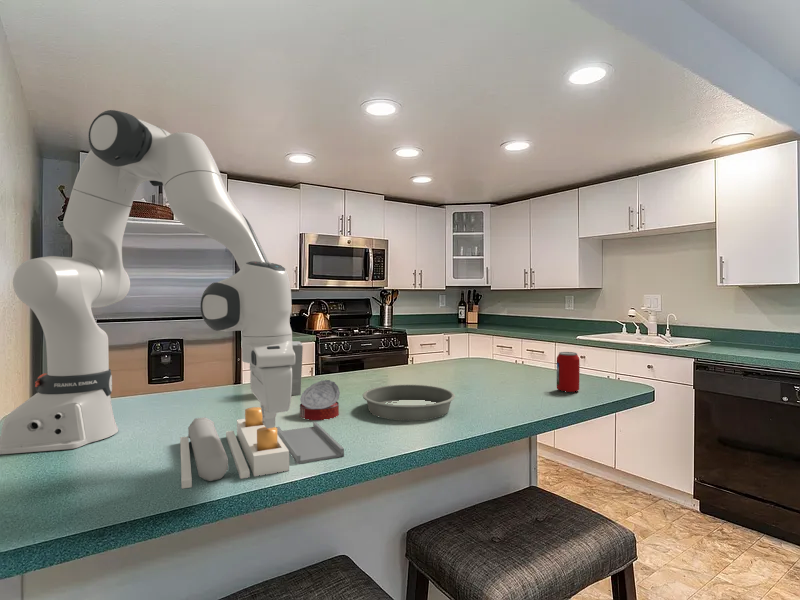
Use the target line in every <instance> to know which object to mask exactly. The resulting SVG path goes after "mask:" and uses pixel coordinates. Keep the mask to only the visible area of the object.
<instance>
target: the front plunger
mask: <svg viewBox="0 0 800 600" xmlns="http://www.w3.org/2000/svg"><path fill="white" fill-rule="evenodd" d="M276 427H277V426H275V427H274V428H266V427H262V428H259V429H257V450H258V451H263V450H270V449H276V448H277V428H276Z"/></svg>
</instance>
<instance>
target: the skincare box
mask: <svg viewBox="0 0 800 600" xmlns="http://www.w3.org/2000/svg"><path fill="white" fill-rule="evenodd" d="M292 344H293V351H294V353H295V365H291V367H292V393H291V396H302V373H303V372H302V371H303V349H304V345H303V342H302V341H300V340H298V341H297V340H296V341H294V340H292Z"/></svg>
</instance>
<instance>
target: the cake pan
mask: <svg viewBox="0 0 800 600" xmlns="http://www.w3.org/2000/svg"><path fill="white" fill-rule="evenodd" d="M362 397H363V399H364V401H366V404H367V409H368V412H369V411H370V412H369V413H370V414H371V413H372V414H371V415H373V416H375V415H376V417H378V416H379V417H378V418H381V417H382V419H386V418H387V419H388V420H392V419H394V420H393V421H424V420H423V419H426V420H431V419H430V418H433V419H436V418H435V417H437V418H440V417H439V416H441V417H443V416H445V415H447V414H448V413H449V411H450V406H451V402H452V401H453V400H455V398H456V394H455V393H454V392H453V391H451V390H449V389H447V388H443V387H440V386H439V387H438V386H433V385H425V384H390V385H383V386H382V385H381V386H377V387H374V388H373V387H372V388H371V389H368V390H366V391H364V393H363V394H362ZM399 400H425V401H431V402H436V403H434V404H426V405H393V404H388V403H391V402H392V401H399ZM386 402H388V403H387V404H385V403H386ZM393 403H397V402H393ZM447 412H448V413H447ZM446 413H447V414H446ZM444 414H445V415H444ZM442 415H443V416H442ZM387 419H386V420H387Z"/></svg>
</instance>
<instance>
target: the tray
mask: <svg viewBox="0 0 800 600" xmlns="http://www.w3.org/2000/svg"><path fill="white" fill-rule="evenodd" d="M312 425H313V426H308V427H301V428H295V429H293V428H292V429H286V430H282V428H280V426H275V427H276V428H277V434H278V436H279V437H280V439H281V440H282V442H283V443H284V444H285V446H286V447H287V449H288V450H289V455H290V456H291V455H292V456H291V457H292V458H294V459H293V460H294V462H295V463H296V464H297V465H300V464H304V463H311V462H317V461H323V460H325V461H326V460H330V459H337V458H342V457H345V448H344V447H343V446H342V445H341V444H340V443H339V442H337V441H336V440H335V438H333V436H332V435H330V434H329V433H328V432H327V431H326V430H325V429H324V428H323V427H322V426H321V425H319V424H318V422H316V421H314V422H313V424H312Z"/></svg>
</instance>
